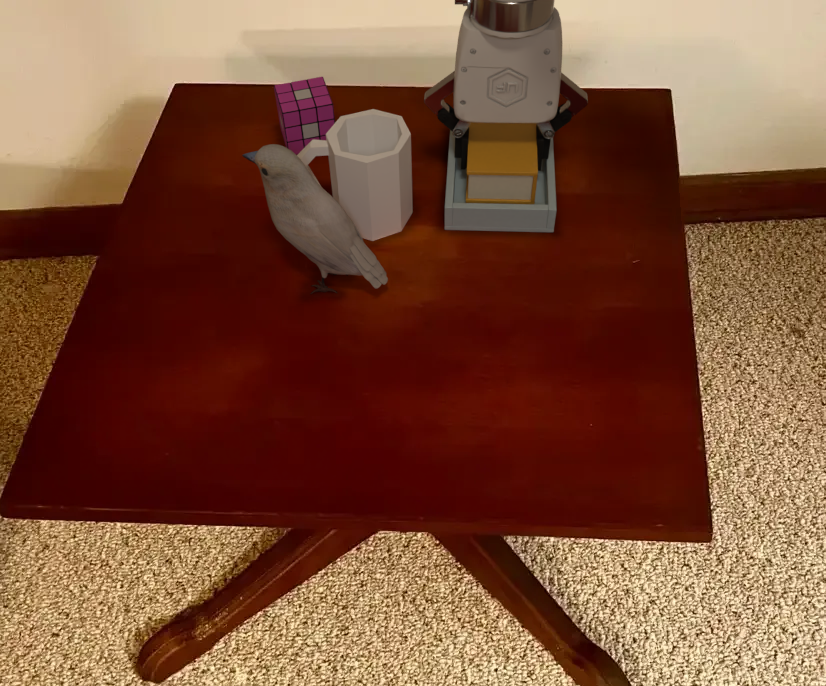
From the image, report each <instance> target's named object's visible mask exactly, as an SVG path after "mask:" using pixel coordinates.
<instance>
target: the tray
mask: <svg viewBox="0 0 826 686" xmlns="http://www.w3.org/2000/svg"><path fill="white" fill-rule="evenodd" d="M536 125H537V123H536ZM448 140H449V141H448V153H447V154H448V155H447V168H446V169H447V170H446V184H445V198H444V226H443V227H444V231H473V232H475V231H477V232H478V231H479V232H512V233H513V232H515V233H516V232H517V233H518V232H519V233H554V232H555V224H556V218H557V207H558V206H557V190H556V170H555V152H554V149H555V148H554V137H553V138H551V141H550V149H549V157H548V159H542V164H541V171H538V177H537V186H536V194H535V203H534V204H494V203H466V183H467V168H466V170H461V158H455V137H454V136H453V134H452V131H451V130H450V129H449V139H448Z"/></svg>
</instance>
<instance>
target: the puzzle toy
mask: <svg viewBox="0 0 826 686" xmlns="http://www.w3.org/2000/svg"><path fill="white" fill-rule="evenodd" d="M273 90H274V91H273V92H274V96H275V103H276V110H277V114H278V121H279V128H280V131H281V135H282V138H283V141H284V142H283V143H284V144H285V147H286V148H288V149H289V150H291V151H293V152H294V153H295V154H296V155H298V154H299V153H300V152H301V151H302V150H303V149H304V148H305V147H306V146H307V145H308V144H309V143H310V142H311V141H312V140H313V139H314V140H326V133H327V132H328V131H329V130H330V128H331V127H332V126H333V125H334V124H335V122H336V119H335V109H334V108H335V107H334V103H333V100H332V97H331V94H330V92H329V89H328V86H327V84H326V80H325V78H324V76H317V77H312V78H307V79H300V80H295V81H292V82H284V83H278V84H274V85H273ZM326 141H327V140H326Z"/></svg>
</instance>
